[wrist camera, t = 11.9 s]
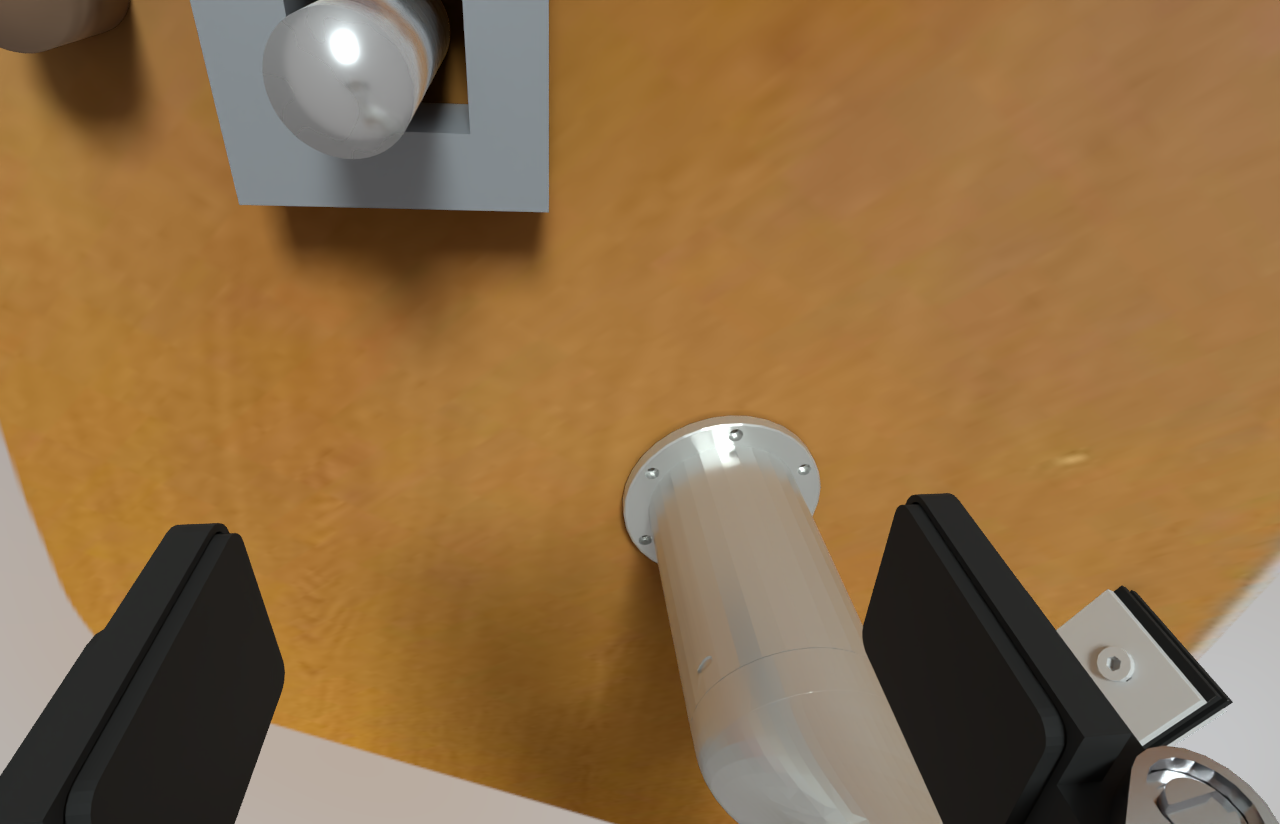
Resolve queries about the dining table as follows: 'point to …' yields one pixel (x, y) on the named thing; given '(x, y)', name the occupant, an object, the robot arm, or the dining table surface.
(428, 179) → the hole block
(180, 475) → the dining table surface
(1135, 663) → the hinge
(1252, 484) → the dining table surface
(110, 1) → the walnut pin
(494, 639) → the dining table surface
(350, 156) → the steel pin
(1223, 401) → the dining table surface
